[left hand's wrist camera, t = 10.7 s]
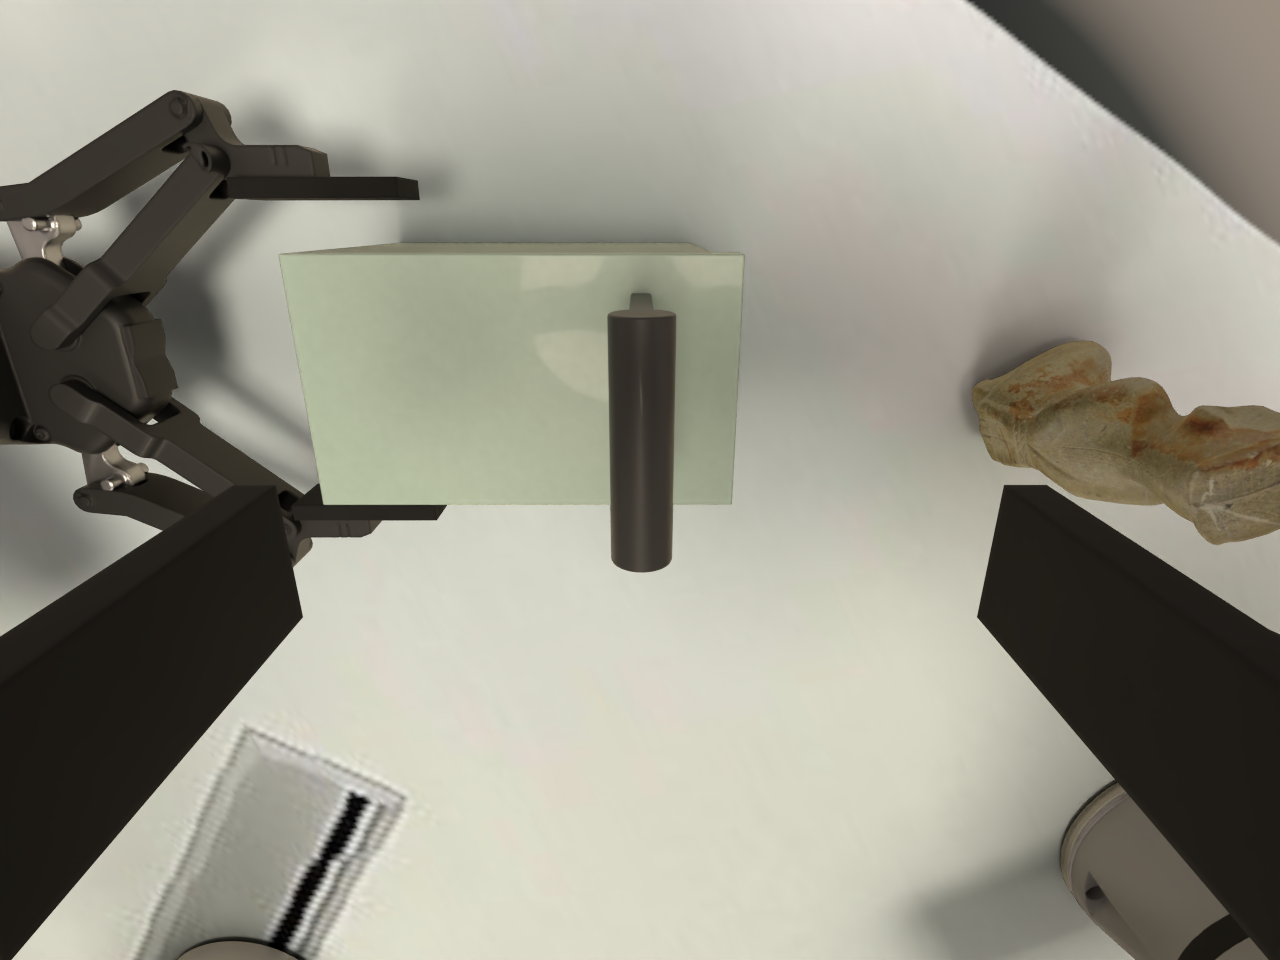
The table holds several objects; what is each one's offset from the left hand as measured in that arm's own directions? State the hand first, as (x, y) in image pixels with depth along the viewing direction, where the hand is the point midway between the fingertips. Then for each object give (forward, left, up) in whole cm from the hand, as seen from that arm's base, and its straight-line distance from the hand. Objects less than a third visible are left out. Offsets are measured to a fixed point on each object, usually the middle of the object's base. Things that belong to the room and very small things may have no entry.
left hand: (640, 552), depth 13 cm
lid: (+4, +2, -14) cm, 15 cm away
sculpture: (-20, -8, -25) cm, 33 cm away
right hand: (+8, +4, -18) cm, 21 cm away
